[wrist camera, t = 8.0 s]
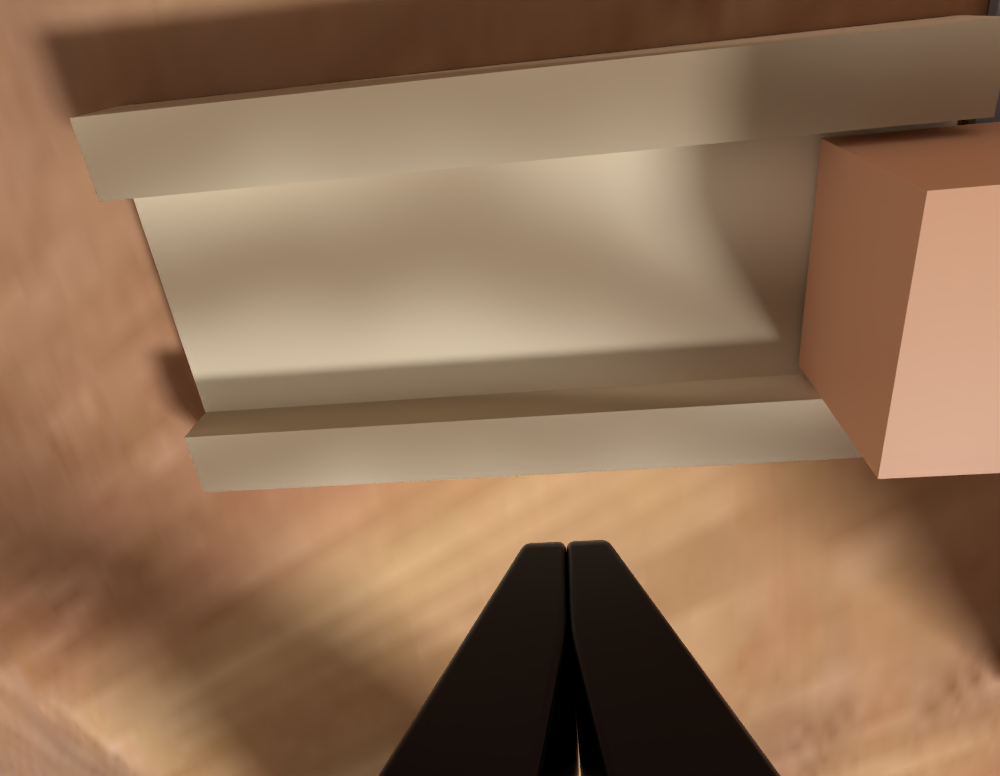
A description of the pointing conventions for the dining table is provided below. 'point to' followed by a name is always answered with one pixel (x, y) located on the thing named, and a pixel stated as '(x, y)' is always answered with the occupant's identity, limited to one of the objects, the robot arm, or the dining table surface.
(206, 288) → the chute
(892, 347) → the block
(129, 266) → the dining table surface
